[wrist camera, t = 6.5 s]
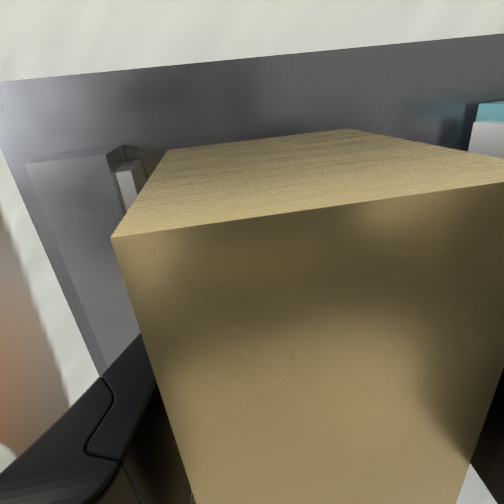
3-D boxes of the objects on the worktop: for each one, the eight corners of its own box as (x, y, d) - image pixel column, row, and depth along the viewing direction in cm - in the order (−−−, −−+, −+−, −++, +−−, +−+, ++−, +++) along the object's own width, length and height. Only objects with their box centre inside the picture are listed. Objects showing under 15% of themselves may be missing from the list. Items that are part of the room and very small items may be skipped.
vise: (718, 15, 12) (866, -8, 9) (595, 282, 17) (666, 316, 15) (-6, 86, 10) (-85, 80, 7) (110, 369, 15) (90, 428, 12)
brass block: (340, 345, 12) (445, 532, 7) (213, 368, 12) (222, 586, 7) (347, 128, 9) (572, 171, 4) (167, 150, 8) (109, 237, 3)
